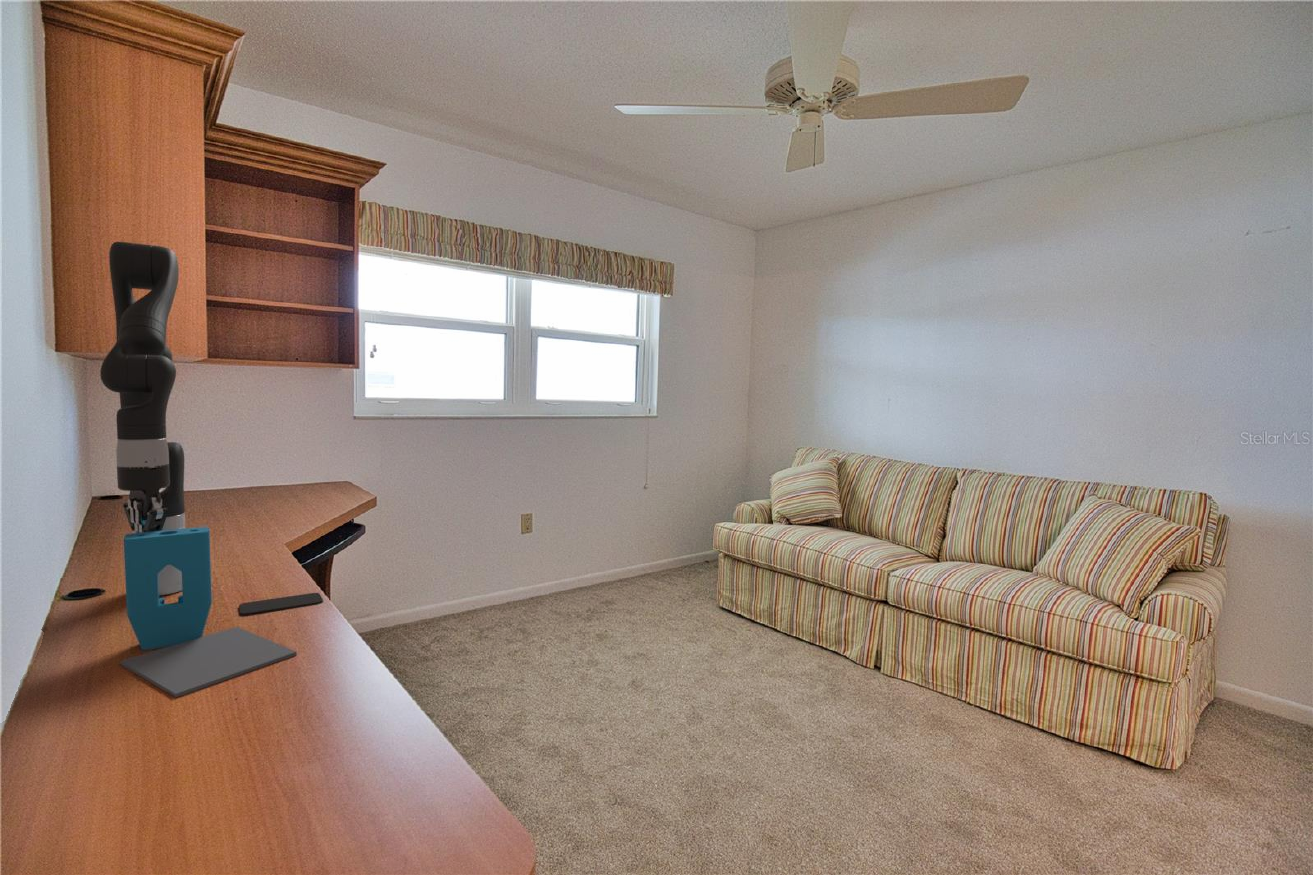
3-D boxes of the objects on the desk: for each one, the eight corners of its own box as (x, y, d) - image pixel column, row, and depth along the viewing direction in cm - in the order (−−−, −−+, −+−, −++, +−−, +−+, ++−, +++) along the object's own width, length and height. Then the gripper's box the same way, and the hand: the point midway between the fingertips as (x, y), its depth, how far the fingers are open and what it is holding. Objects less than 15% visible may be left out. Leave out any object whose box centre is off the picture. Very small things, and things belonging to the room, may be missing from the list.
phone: (323, 601, 135) (240, 614, 126) (323, 605, 135) (240, 618, 126) (318, 591, 141) (238, 603, 132) (318, 595, 141) (238, 607, 132)
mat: (119, 664, 104) (119, 661, 104) (237, 629, 119) (237, 626, 119) (175, 697, 94) (175, 693, 94) (296, 654, 109) (296, 651, 109)
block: (128, 653, 108) (123, 540, 106) (130, 643, 112) (125, 534, 110) (213, 638, 115) (209, 531, 114) (212, 629, 119) (208, 526, 118)
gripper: (103, 462, 116) (107, 553, 117) (133, 467, 109) (138, 565, 110) (151, 458, 122) (155, 545, 124) (183, 463, 116) (187, 555, 117)
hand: (147, 554), depth 117 cm, fingers closed
